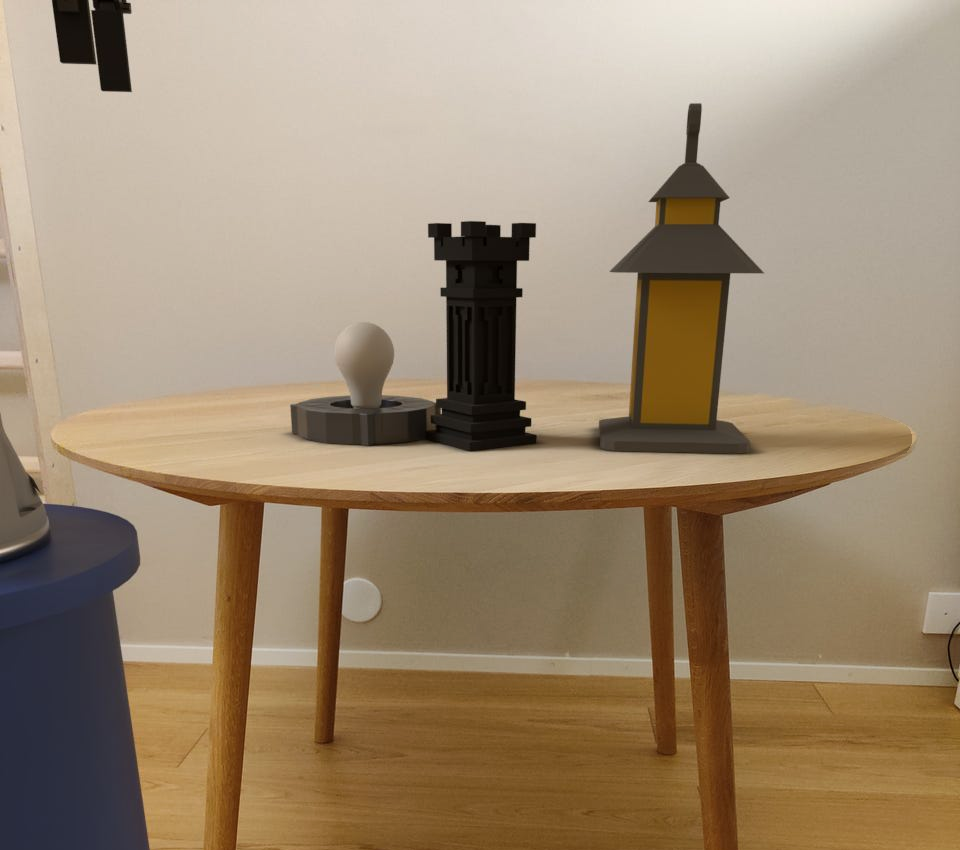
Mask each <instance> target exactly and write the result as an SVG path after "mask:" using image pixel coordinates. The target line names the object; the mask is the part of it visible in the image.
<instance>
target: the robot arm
mask: <svg viewBox="0 0 960 850" xmlns="http://www.w3.org/2000/svg"><path fill="white" fill-rule="evenodd" d="M51 7H52V12H53V20H54V26H55V27H54V28H55V34H56V41H57V51H58V56H59V62H60V63H61V64H66V65H94V66H95V65H97V69H98V70H97V71H98V78H99V87H100V91H101V92H109V93H110V92H111V93H112V92H113V93H114V92H117V93H132V92H133V91H132V90H133V89H132V81H131V80H132V79H131V72H130V65H129V64H130V63H129V55H128V44H127V37H126V29H125V27H126V26H125V19H124V15H132V12H133V11H132V4H131V2H128V1H127V0H92V7H93V9H90V0H51ZM39 494H42V492H41V490H40V489H39V487H38V485H37V483H36V481H35V479H34V478H33V477H32V476H31V475H30V474H29V473H28V472H27V471H26V468H25V467H24V465H23V463H22V461H21V460H20V457H19V456H18V454H17V452H16V450H15V448H14V446H13V445H12V442H11V440H10V439H9V437H8V434H7V433H6V430H5V427H4V425H3V419H2V414H1V413H0V565H3V564H6V563H10V562H13V561H16V560H18V559H21V558H24V557H26V556H29V555H31V554H33V553H35V552H37V551H38V550H40V549H42V548H43V547H44V546H46V545H47V544H48V543H49V541H50V539H51V533H50V526H49V520H48V517H47V516H46V510H45V507H44V505H43V504H44V503H43V501H42V499H41V497H40V495H39Z"/></svg>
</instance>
